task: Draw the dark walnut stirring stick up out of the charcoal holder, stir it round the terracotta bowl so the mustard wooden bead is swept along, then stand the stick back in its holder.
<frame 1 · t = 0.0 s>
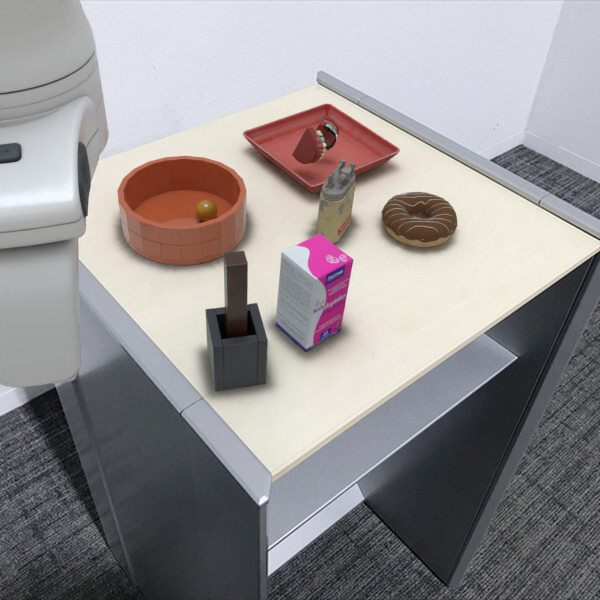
hand: (62, 315, 41), 27 cm above the table, tool pointing down, fingers open, 8 cm apart
donut: (416, 230, 95), on the table
supplement box: (308, 329, 80), on the table
holder: (236, 368, 74), on the table
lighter: (331, 230, 94), on the table
bead: (206, 210, 91), point 2 cm above the table, touching bowl
stick: (235, 317, 69), in the holder
dental model: (332, 131, 102), point 6 cm above the table, touching red square tray
bowl: (185, 226, 92), on the table
red square tray: (319, 159, 106), on the table, touching dental model
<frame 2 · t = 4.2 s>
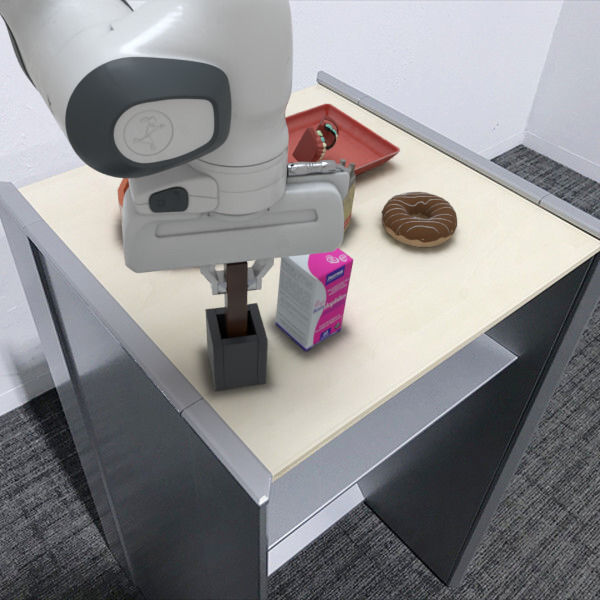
hand: (235, 288, 66), 12 cm above the table, tool pointing down, fingers closed on stick, 2 cm apart
stick: (235, 317, 69), in the holder, touching gripper
everything else where it was.
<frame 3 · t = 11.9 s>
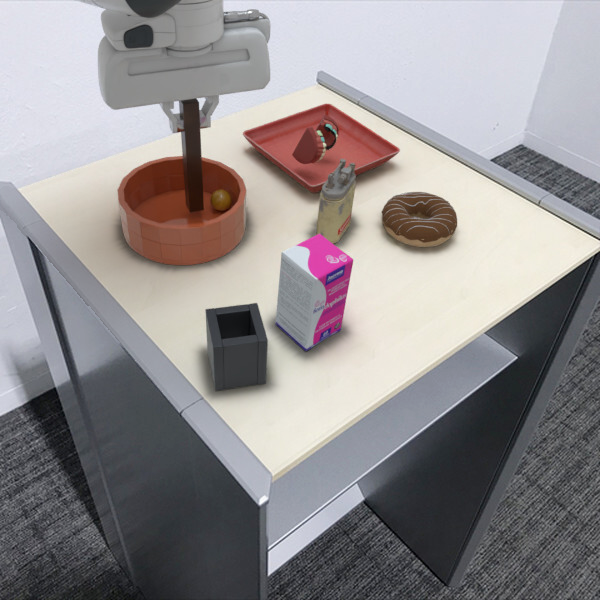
hand: (190, 128, 84), 14 cm above the table, tool pointing down, fingers closed on stick, 2 cm apart
bead: (221, 200, 93), point 2 cm above the table, tilted 119°, touching bowl
stick: (192, 156, 86), point 10 cm above the table, touching gripper
everything else where it was.
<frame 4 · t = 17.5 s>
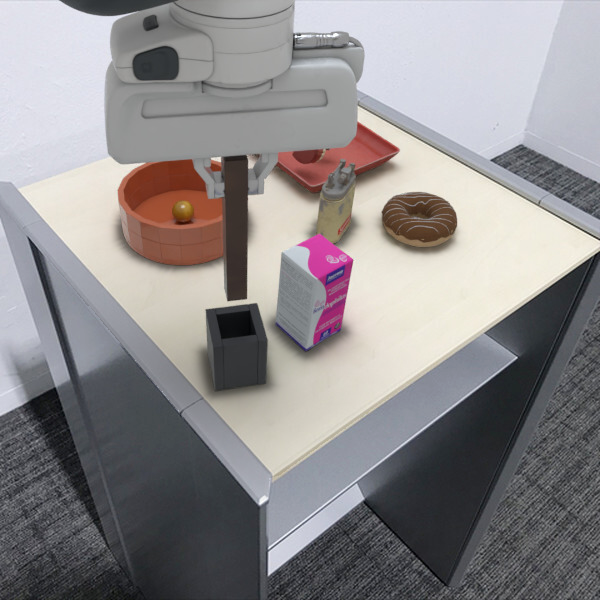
hand: (234, 193, 58), 23 cm above the table, tool pointing down, fingers closed on stick, 2 cm apart
bead: (183, 211, 91), point 2 cm above the table, tilted 99°, touching bowl
stick: (235, 230, 61), point 19 cm above the table, touching gripper
everything else where it was.
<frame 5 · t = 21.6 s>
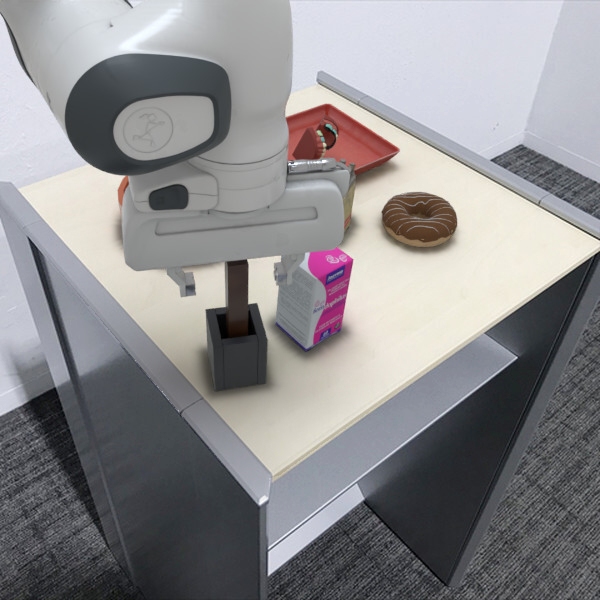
hand: (235, 286, 66), 12 cm above the table, tool pointing down, fingers open, 8 cm apart
bead: (153, 219, 89), point 2 cm above the table, tilted 99°, touching bowl
stick: (236, 317, 69), in the holder
everything else where it was.
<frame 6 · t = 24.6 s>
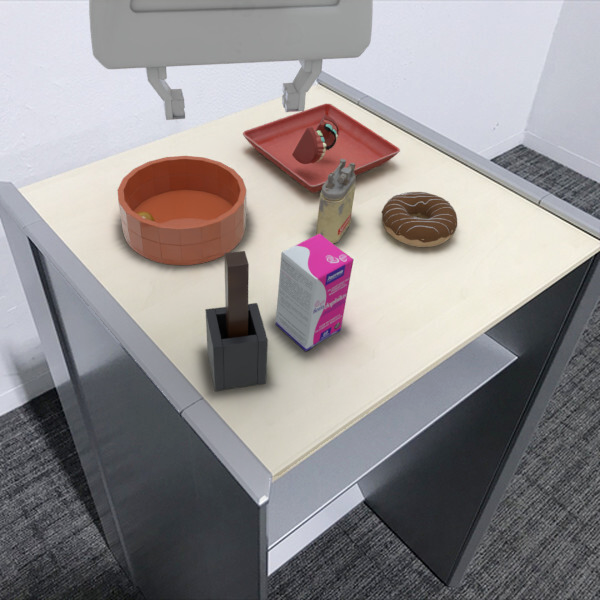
hand: (235, 112, 53), 31 cm above the table, tool pointing down, fingers open, 8 cm apart
bead: (143, 223, 88), point 2 cm above the table, tilted 46°, touching bowl
everything else where it was.
at the end: bead moved 8.6 cm from its start; bead inside the target area in the bowl (5.7 cm from its centre), point 2.3 cm above the bowl's base; stick 0.1 cm off-centre in the holder, point 8.0 cm above the holder's base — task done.
